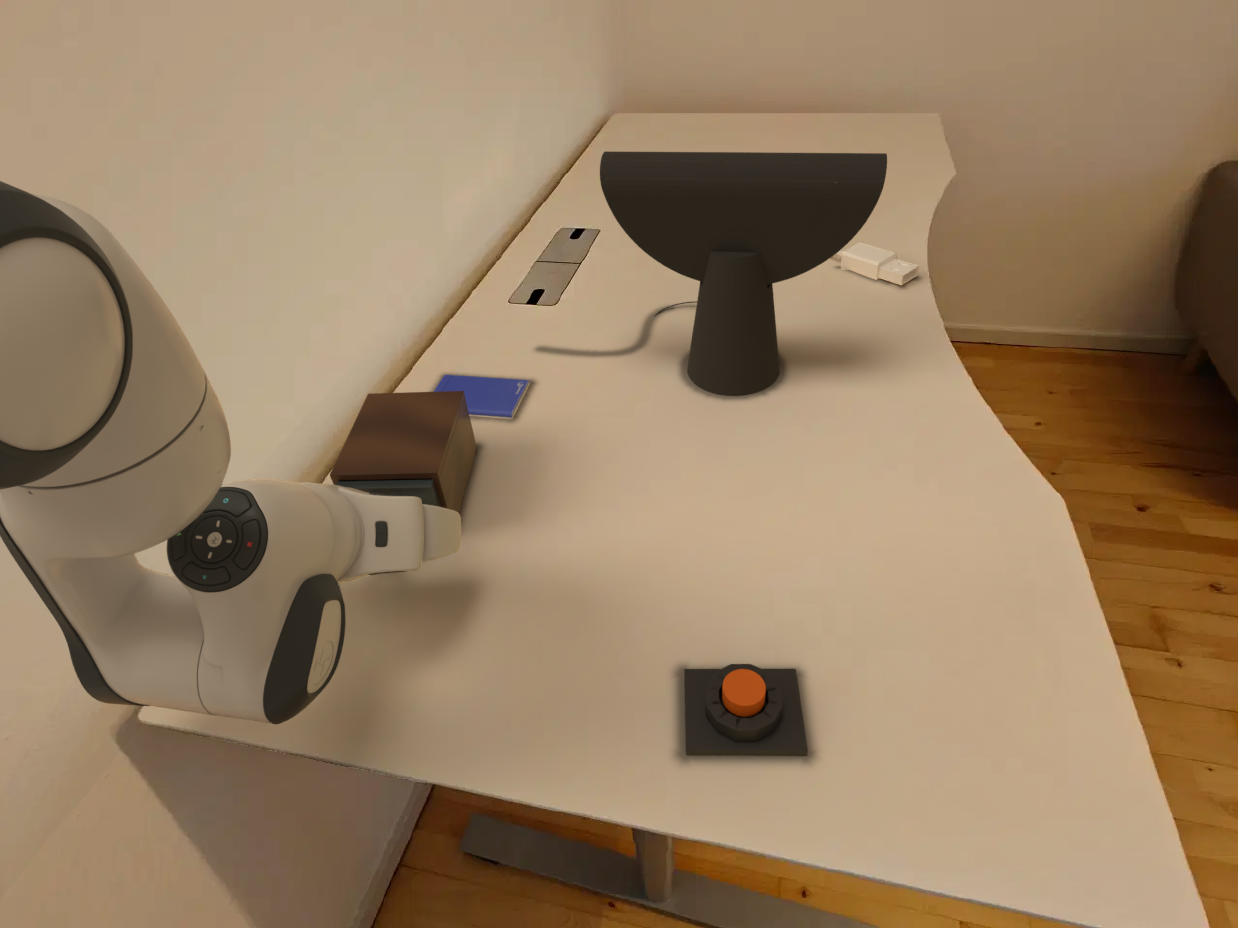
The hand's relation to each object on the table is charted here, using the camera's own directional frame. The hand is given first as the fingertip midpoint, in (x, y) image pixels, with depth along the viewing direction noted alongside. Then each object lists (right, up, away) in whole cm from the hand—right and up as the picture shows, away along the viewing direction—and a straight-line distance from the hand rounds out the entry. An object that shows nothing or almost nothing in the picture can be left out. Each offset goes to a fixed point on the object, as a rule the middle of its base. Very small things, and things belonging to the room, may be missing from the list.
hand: (380, 531), depth 83 cm
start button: (+35, -13, -14) cm, 40 cm away
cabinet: (+1, +3, +13) cm, 14 cm away
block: (+35, -15, -12) cm, 41 cm away
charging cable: (+59, +41, +51) cm, 89 cm away
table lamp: (+35, +21, +30) cm, 51 cm away
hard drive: (+6, +15, +26) cm, 31 cm away
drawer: (+1, +2, +10) cm, 10 cm away
